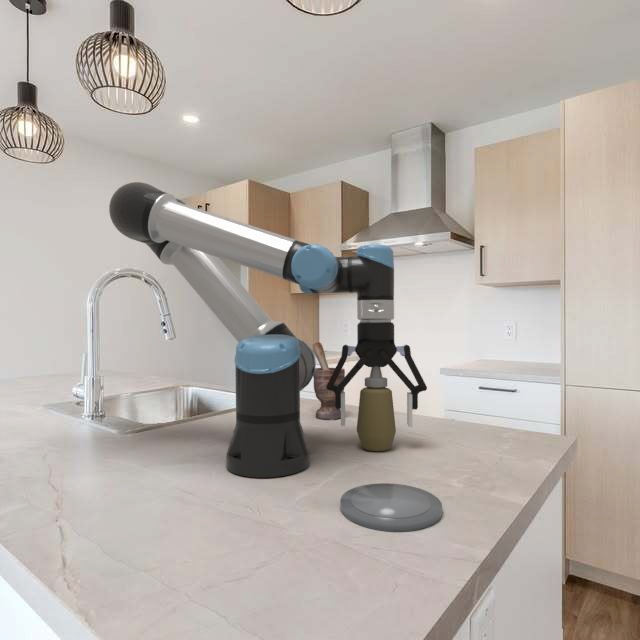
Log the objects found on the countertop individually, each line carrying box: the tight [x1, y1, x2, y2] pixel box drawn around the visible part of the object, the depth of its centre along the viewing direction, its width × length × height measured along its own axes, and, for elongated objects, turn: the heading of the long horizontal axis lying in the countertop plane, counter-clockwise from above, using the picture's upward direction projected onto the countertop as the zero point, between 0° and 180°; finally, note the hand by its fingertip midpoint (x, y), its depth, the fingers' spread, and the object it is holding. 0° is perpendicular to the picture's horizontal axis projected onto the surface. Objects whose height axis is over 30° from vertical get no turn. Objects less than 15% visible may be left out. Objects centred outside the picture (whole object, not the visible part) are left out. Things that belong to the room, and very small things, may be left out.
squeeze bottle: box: [356, 366, 397, 452], centre depth 94 cm, size 8×8×18 cm
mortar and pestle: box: [312, 342, 346, 421], centre depth 125 cm, size 12×9×20 cm
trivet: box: [339, 482, 443, 533], centre depth 64 cm, size 14×14×1 cm
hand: (376, 425), depth 94 cm, fingers open, 13 cm apart
